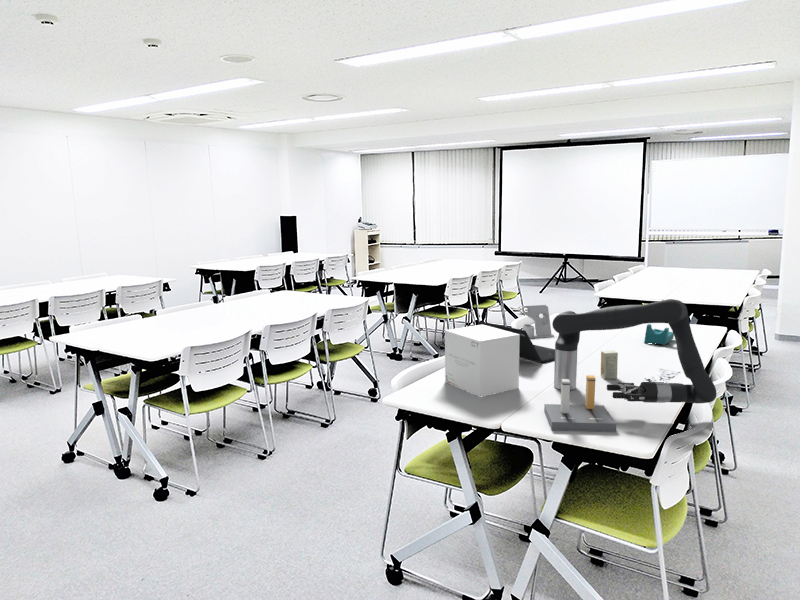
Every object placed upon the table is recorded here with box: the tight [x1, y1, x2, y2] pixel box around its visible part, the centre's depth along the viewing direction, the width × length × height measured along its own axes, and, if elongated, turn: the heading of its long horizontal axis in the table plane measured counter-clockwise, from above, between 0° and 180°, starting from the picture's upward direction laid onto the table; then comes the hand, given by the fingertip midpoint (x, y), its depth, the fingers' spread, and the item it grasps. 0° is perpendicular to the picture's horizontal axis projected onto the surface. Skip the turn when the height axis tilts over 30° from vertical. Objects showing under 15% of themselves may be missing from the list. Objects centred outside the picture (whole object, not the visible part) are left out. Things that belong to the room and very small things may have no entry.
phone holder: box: [521, 304, 555, 339], centre depth 337 cm, size 17×10×18 cm, turn 100°
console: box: [543, 403, 617, 433], centre depth 204 cm, size 18×22×3 cm
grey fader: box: [560, 379, 571, 413], centre depth 204 cm, size 3×3×12 cm
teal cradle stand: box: [643, 323, 675, 346], centre depth 317 cm, size 18×11×10 cm, turn 141°
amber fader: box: [584, 374, 597, 409], centre depth 207 cm, size 3×3×12 cm
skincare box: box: [600, 350, 619, 380], centre depth 254 cm, size 6×4×12 cm
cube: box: [444, 324, 520, 398], centre depth 246 cm, size 25×21×24 cm
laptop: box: [477, 320, 555, 363], centre depth 293 cm, size 33×38×19 cm
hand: (609, 391), depth 207 cm, fingers open, 8 cm apart
